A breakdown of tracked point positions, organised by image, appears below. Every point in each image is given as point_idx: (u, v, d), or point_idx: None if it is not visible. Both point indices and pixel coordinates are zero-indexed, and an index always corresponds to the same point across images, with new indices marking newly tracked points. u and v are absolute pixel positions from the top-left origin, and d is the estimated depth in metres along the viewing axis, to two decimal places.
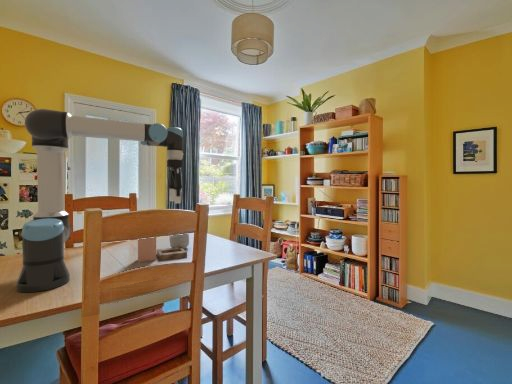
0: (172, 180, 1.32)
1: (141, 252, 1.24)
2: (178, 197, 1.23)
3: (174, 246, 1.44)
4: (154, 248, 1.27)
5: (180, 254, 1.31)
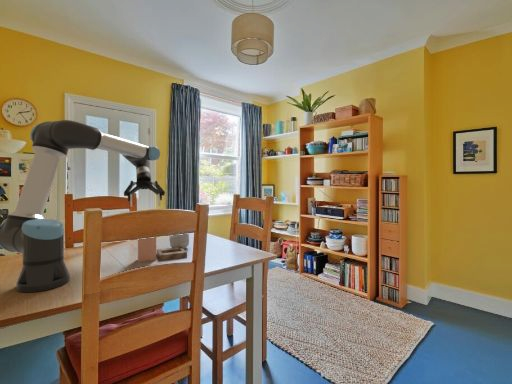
0: (136, 189, 1.40)
1: (141, 252, 1.24)
2: (159, 200, 1.41)
3: (174, 246, 1.44)
4: (154, 248, 1.27)
5: (180, 254, 1.31)
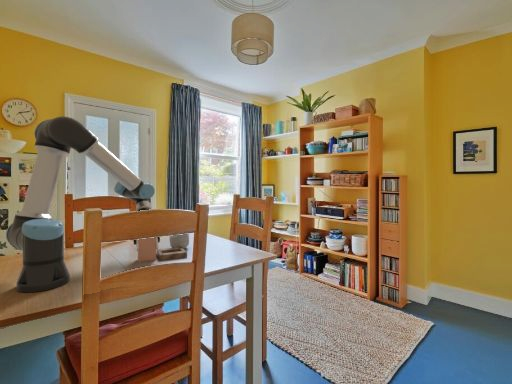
0: None
1: (141, 252, 1.24)
2: (157, 243, 1.28)
3: (174, 246, 1.44)
4: (154, 248, 1.27)
5: (180, 254, 1.31)
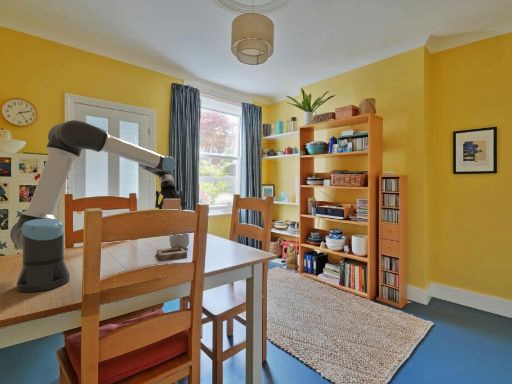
0: (164, 198, 1.36)
1: None
2: None
3: (174, 246, 1.44)
4: None
5: (180, 254, 1.31)
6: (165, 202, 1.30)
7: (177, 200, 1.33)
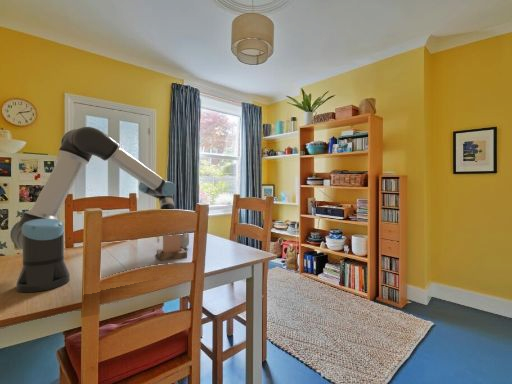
0: None
1: (166, 248, 1.31)
2: None
3: None
4: (178, 245, 1.34)
5: (180, 254, 1.31)
6: None
7: None
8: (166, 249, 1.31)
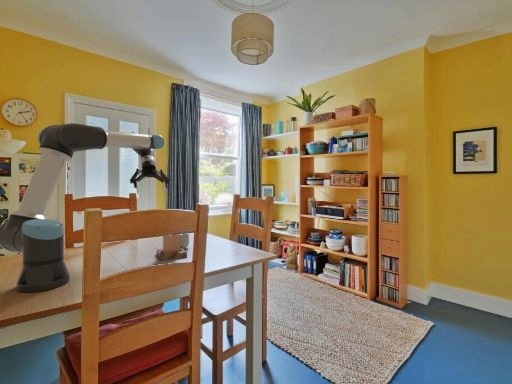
0: (142, 176, 1.42)
1: (166, 248, 1.31)
2: None
3: None
4: (178, 245, 1.34)
5: (180, 254, 1.31)
6: None
7: None
8: (166, 249, 1.31)
